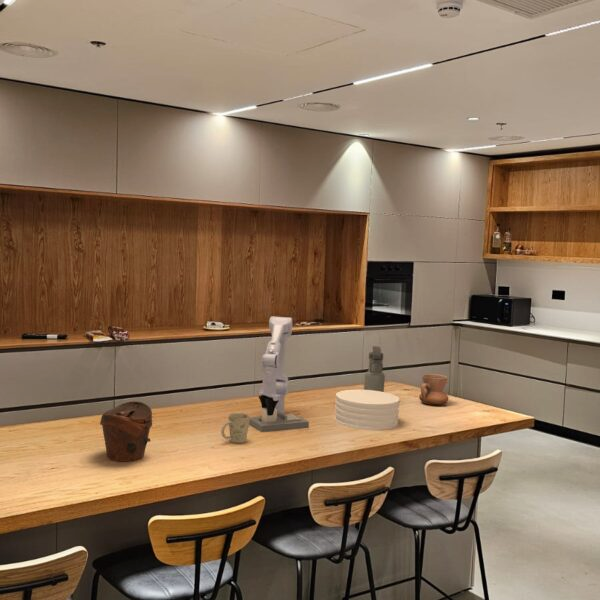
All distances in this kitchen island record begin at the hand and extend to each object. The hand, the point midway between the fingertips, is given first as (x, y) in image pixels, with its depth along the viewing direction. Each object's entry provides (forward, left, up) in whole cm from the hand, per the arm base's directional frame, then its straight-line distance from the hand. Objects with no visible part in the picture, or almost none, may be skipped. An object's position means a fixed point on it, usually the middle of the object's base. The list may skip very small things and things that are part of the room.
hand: (267, 413), depth 295 cm
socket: (0, +5, -5) cm, 7 cm away
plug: (0, +1, -4) cm, 4 cm away
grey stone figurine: (-22, +69, -6) cm, 73 cm away
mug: (+16, -22, -6) cm, 28 cm away
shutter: (0, +10, -3) cm, 10 cm away
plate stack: (+6, +46, -6) cm, 47 cm away
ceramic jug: (-13, +99, -6) cm, 100 cm away
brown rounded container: (+20, -65, -6) cm, 68 cm away
